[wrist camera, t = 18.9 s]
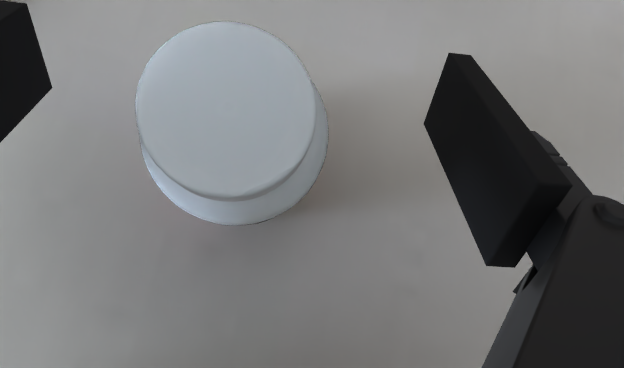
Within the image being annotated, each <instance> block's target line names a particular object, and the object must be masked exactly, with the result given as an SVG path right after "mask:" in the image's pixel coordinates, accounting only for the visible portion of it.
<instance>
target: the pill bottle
mask: <svg viewBox="0 0 624 368" xmlns="http://www.w3.org/2000/svg"><path fill="white" fill-rule="evenodd" d="M135 114H136V122H137V127H138V131H139V135H140V144H141V149H142V154H143V157H144V160H145V163H146V166H147V168H148V170H149V172H150V174H151V176H152V178H153V180H154V181H155V182H156V184H157V185H158V187H159V188H160V189H161V190H162V192H163V193H164V194H165V195H166V196H167V197H168V198H169V199H170V200H171V201H172V202H173V203H175V204H176V205H177V206H178V207H180V208H181V209H183V210H184V211H186V212H188V213H190V214H192V215H194V216H196V217H198V218H200V219H203V220H206V221H209V222H213V223H217V224H220V225H249V224H256V223H261V222H264V221H267V220H269V219H272V218H274V217H276V216H278V215H280V214H281V213H283V212H285V211H287V210H288V209H290V208H291V207H292V206H294V205H295V204H296V203H297V202H299V201H300V200H301V199H302V198H303V197H304V196H305V195H306V194H307V193H308V191H309V190H310V188H311V187H312V185H313V184H314V182H315V181H316V179H317V177H318V175H319V173H320V171H321V168H322V166H323V163H324V160H325V157H326V152H327V147H328V120H327V115H326V110H325V107H324V104H323V101H322V99H321V96H320V94H319V92H318V90H317V88H316V87H315V85H314V83H313V82H312V81H311V79H310V77H309V75H308V72H307V70H306V69H305V67H304V65H303V64H302V62H301V61H300V59H299V58H298V56H297V55H296V54H295V53H294V52H293V50H292V49H291V48H290V47H288V46H287V45H286V44H285V43H284V42H283V41H281V40H280V39H279V38H277V37H276V36H274V35H272V34H271V33H269V32H267V31H265V30H263V29H260V28H258V27H255V26H251V25H248V24H245V23H239V22H232V21H218V22H210V23H204V24H200V25H197V26H194V27H191V28H188V29H186V30H184V31H182V32H180V33H179V34H177V35H175V36H174V37H172V38H171V39H169V40H168V41H167V42H166V43H164V44H163V45H162V46H161V47H160V48H159V49H158V50H157V51H156V52H155V53H154V55H153V56H152V57H151V59H150V60H149V62H148V64H147V65H146V67H145V69H144V71H143V73H142V76H141V78H140V81H139V84H138V88H137V92H136V101H135Z"/></svg>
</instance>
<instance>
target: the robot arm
mask: <svg viewBox="0 0 624 368" xmlns="http://www.w3.org/2000/svg"><path fill="white" fill-rule="evenodd" d="M51 89H52V85H51V82H50V79H49V75H48V72H47V69H46V66H45V62H44V59H43V56H42V53H41V49H40V46H39V43H38V39H37V36H36V33H35V30H34V26H33V23H32V20H31V16H30V13H29V10H28V7H27V4H25V3H17V2H8V1H0V142H1V141H2V140H3V139H4V138H5V137H6V136H7V135H8V134H9V133H10V132H11V131H12V130H13V129H14V128H15V127H16V126H17V124H18V123H19V122H20V121H21V120H22V119H23V118H24V117H25V116H26V115H27V114H28V113H29V112H30V111H31V110H32V109H33V108H34V107H35V105H36V104H37V103H38V102H39V101H40V100H41V99H42V98H43V97H44V96H45V95H46V94H47V93H48V92H49V91H50V90H51ZM424 126H425V128H426V130H427V132H428V135H429V137H430V139H431V141H432V144H433V146H434V148H435V151H436V153H437V155H438V157H439V160H440V162H441V164H442V166H443V169H444V171H445V173H446V176H447V178H448V180H449V182H450V185H451V187H452V189H453V191H454V194H455V196H456V198H457V201H458V203H459V205H460V207H461V210H462V212H463V214H464V216H465V219H466V221H467V223H468V226H469V228H470V230H471V232H472V235H473V237H474V239H475V241H476V244H477V246H478V248H479V250H480V253H481V255H482V257H483V260H484V262H485V264H486V266H497V267H514V268H515V267H516V265H517V264H518V262H519V261H520V260H521V258H522V257H523V255H524V254H525V253H526V251H527V253H528V255H529V257H530V259H531V260H532V262H533V265H532V267H531V268H530V269H529V271H528V272H527V273H526V275H525V276H524V277H523V279H522V280H521V281H520V283H519V284H518V285H517V287H516V288H515V289H514V291H513V292H514V293H516V296H515V298H514V301H513V303H512V305H511V307H510V309H509V311H508V313H507V315H506V317H505V320H504V322H503V324H502V326H501V328H500V330H499V332H498V334H497V336H496V338H495V341H494V343H493V345H492V347H491V349H490V351H489V353H488V355H487V357H486V360H485V362H484V364H483V366H482V368H624V205H623V204H621V203H619V202H618V201H615V200H612V199H610V198H607V197H604V196H597V195H593V194H592V193H591V192H590V191H589V189H588V188H587V187H586V186H585V184H584V183H583V182H582V181H581V180H580V178H579V177H578V176H577V175H576V173H575V172H574V171H573V170H572V169H571V167H570V166H567V165H568V164H567V162H566V161H565V160H564V159H563V158H562V157H560V156H559V155H560V154H559V153H558V152H557V150H556V149H555V148H554V147H553V145H552V144H551V143H550V142H549V141H547V140H546V139H545V138H543V137H542V136H540V135H539V134H538V133H536V132H535V131H530V130H529V129H528V127H527V126H526V125H525V124H524V122H523V121H522V120H521V119H520V117H519V116H518V115H517V113H516V112H515V111H514V110H513V108H512V107H511V106H510V105H509V103H508V102H507V101H506V99H505V98H504V97H503V96H502V94H501V93H500V92H499V91H498V89H497V88H496V87H495V85H494V84H493V83H492V82H491V80H490V79H489V78H488V77H487V75H486V74H485V73H484V71H483V70H482V69H481V68H480V66H479V65H478V64H477V63H476V61H475V60H474V59H473V57H472V56H471V55H463V54H455V53H449V54H448V57H447V59H446V62H445V65H444V68H443V71H442V73H441V76H440V79H439V82H438V85H437V88H436V90H435V93H434V96H433V99H432V102H431V104H430V107H429V110H428V113H427V116H426V119H425V121H424Z"/></svg>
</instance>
